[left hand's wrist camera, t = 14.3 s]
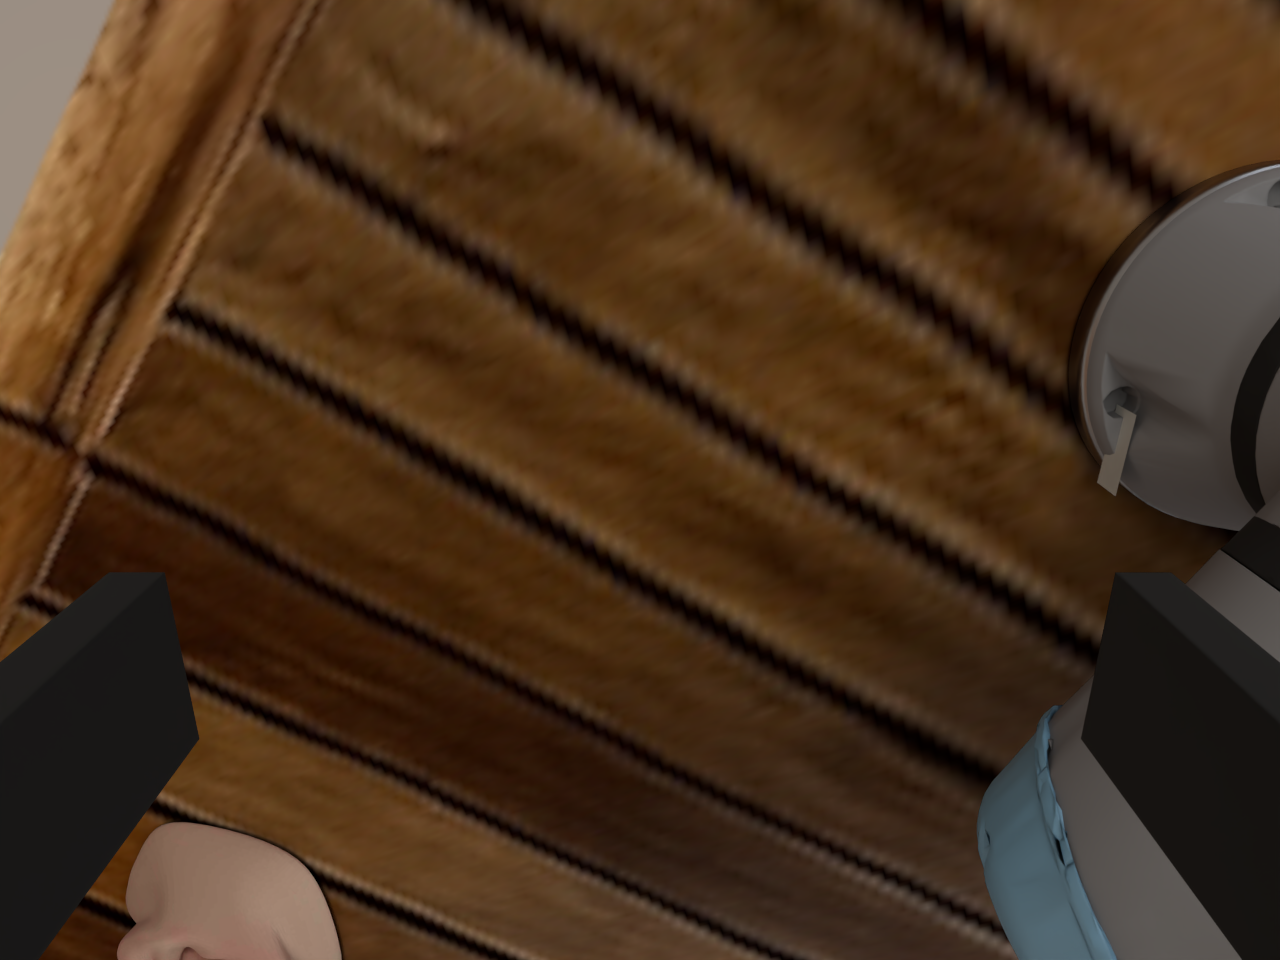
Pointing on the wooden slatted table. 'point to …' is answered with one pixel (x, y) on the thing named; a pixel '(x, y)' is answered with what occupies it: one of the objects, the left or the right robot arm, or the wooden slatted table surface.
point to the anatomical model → (223, 900)
